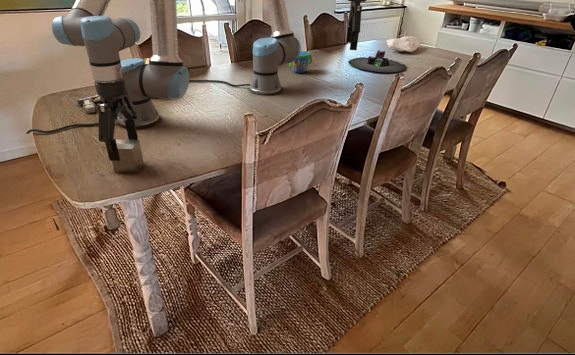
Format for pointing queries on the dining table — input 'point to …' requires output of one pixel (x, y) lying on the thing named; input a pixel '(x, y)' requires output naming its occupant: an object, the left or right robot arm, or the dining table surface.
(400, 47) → the crumpled cloth
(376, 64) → the dark round tray
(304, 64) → the snack cup
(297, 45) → the right robot arm
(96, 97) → the handgun
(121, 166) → the brick
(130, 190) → the dining table surface
